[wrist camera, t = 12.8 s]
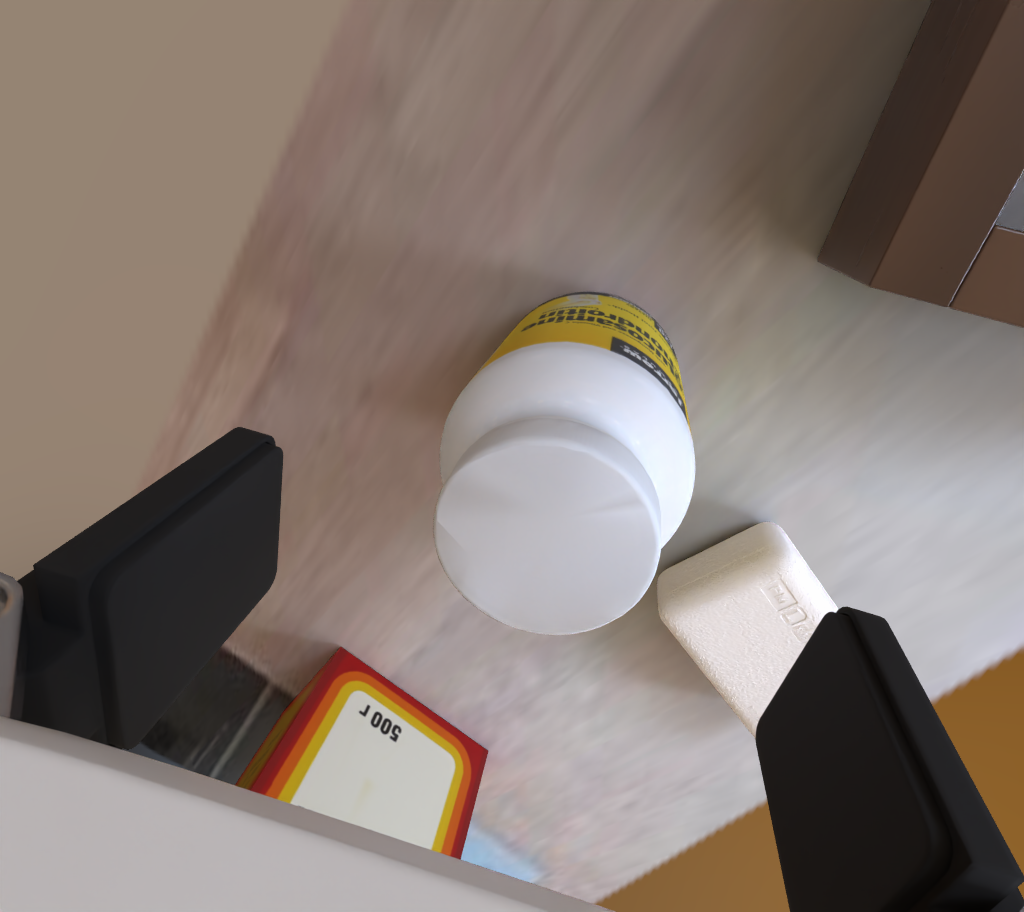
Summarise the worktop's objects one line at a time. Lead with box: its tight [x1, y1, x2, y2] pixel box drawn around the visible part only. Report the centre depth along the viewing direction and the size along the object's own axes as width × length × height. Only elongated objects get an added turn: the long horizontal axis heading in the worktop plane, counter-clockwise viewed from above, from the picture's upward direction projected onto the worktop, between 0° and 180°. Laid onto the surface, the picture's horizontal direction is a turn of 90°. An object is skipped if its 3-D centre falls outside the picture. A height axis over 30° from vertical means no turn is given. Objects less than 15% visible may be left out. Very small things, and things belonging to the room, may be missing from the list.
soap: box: [657, 522, 839, 739], centre depth 24 cm, size 9×6×3 cm, turn 38°
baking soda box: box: [235, 647, 488, 859], centre depth 26 cm, size 10×6×16 cm
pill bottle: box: [433, 291, 695, 635], centre depth 18 cm, size 6×6×12 cm
